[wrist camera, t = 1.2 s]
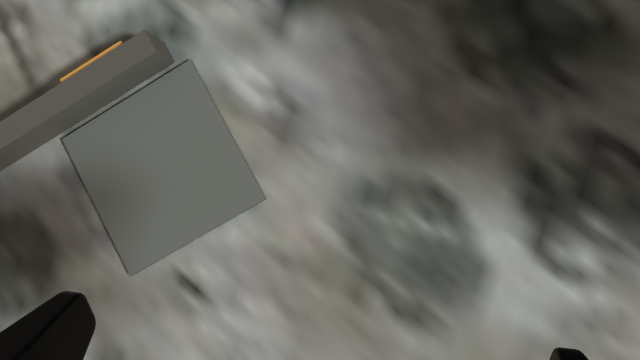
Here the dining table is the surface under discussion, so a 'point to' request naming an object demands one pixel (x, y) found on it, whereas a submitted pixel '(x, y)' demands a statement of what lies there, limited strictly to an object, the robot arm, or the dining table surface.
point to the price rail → (141, 149)
